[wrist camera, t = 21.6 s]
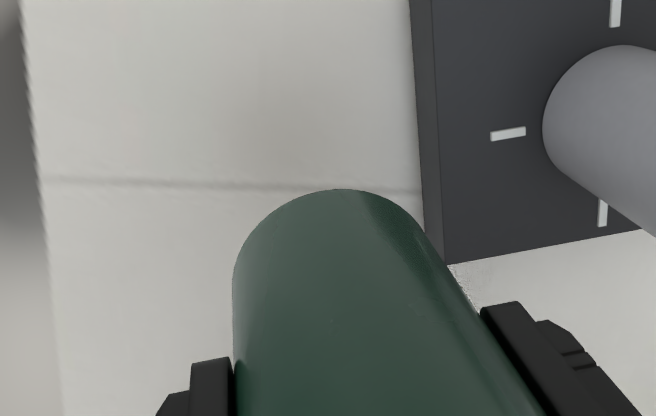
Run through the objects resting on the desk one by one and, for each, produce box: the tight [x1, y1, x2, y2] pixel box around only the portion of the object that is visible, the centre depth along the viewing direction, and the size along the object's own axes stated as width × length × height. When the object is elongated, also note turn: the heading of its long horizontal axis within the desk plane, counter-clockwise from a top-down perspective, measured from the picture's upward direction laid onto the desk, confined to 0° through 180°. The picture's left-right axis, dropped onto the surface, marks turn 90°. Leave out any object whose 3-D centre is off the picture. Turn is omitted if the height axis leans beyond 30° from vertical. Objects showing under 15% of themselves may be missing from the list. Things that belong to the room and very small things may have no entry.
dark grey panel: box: [409, 0, 656, 265], centre depth 26 cm, size 14×11×3 cm
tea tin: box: [232, 189, 547, 416], centre depth 12 cm, size 5×5×8 cm
